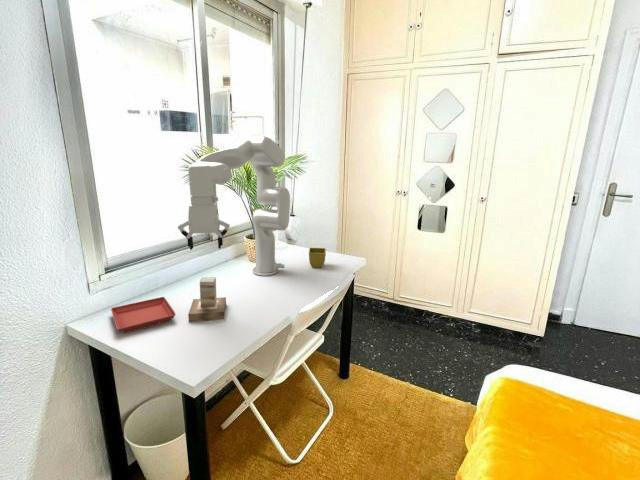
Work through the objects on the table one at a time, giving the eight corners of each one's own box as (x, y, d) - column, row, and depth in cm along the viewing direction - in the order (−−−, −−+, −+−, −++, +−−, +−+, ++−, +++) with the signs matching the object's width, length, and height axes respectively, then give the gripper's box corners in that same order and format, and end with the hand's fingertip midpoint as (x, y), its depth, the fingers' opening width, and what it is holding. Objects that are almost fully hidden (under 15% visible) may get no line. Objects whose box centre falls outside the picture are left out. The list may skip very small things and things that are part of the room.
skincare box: (200, 307, 122) (198, 281, 120) (203, 302, 127) (201, 277, 124) (215, 307, 123) (213, 281, 120) (217, 301, 127) (215, 276, 124)
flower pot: (325, 269, 173) (325, 253, 170) (308, 269, 173) (308, 252, 170) (325, 264, 181) (325, 248, 179) (309, 263, 181) (309, 247, 179)
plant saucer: (111, 315, 122) (110, 307, 121) (164, 303, 132) (164, 295, 131) (118, 338, 108) (116, 329, 107) (177, 322, 118) (176, 314, 118)
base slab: (226, 304, 132) (225, 296, 131) (224, 319, 121) (223, 311, 120) (194, 306, 130) (193, 298, 129) (188, 321, 119) (188, 313, 118)
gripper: (228, 198, 121) (231, 244, 126) (177, 199, 118) (182, 245, 123) (227, 202, 114) (230, 250, 119) (173, 203, 111) (178, 252, 116)
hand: (205, 248), depth 121 cm, fingers open, 9 cm apart
